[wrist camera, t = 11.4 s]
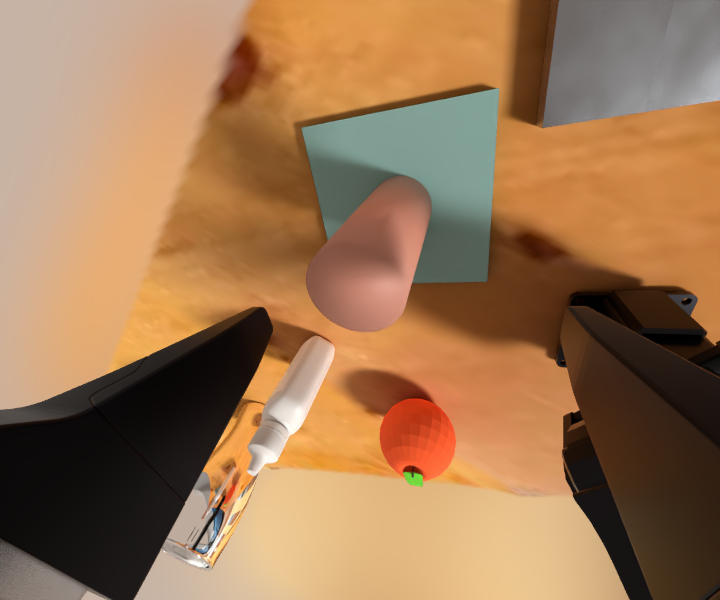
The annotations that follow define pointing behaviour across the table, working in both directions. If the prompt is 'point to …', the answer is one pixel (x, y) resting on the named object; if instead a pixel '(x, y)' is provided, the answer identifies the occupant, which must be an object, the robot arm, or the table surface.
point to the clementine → (417, 440)
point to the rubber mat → (417, 175)
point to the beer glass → (217, 497)
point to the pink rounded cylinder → (372, 258)
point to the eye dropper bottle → (290, 402)
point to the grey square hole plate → (628, 58)
